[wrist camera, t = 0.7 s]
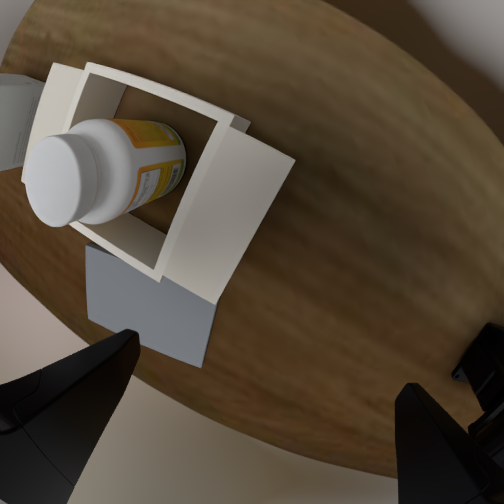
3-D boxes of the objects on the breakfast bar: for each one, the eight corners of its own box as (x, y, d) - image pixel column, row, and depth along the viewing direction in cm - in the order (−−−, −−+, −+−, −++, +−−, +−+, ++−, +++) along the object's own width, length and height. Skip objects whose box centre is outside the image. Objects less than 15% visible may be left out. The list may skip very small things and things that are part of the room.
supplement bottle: (116, 132, 18) (10, 142, 9) (182, 113, 17) (82, 98, 8) (128, 202, 20) (31, 248, 11) (194, 191, 19) (106, 237, 10)
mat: (220, 290, 21) (218, 295, 21) (202, 363, 24) (200, 367, 24) (90, 242, 22) (85, 245, 21) (91, 315, 25) (88, 318, 24)
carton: (301, 148, 17) (301, 149, 13) (229, 278, 21) (211, 312, 17) (95, 63, 16) (56, 54, 12) (57, 177, 20) (20, 188, 16)
